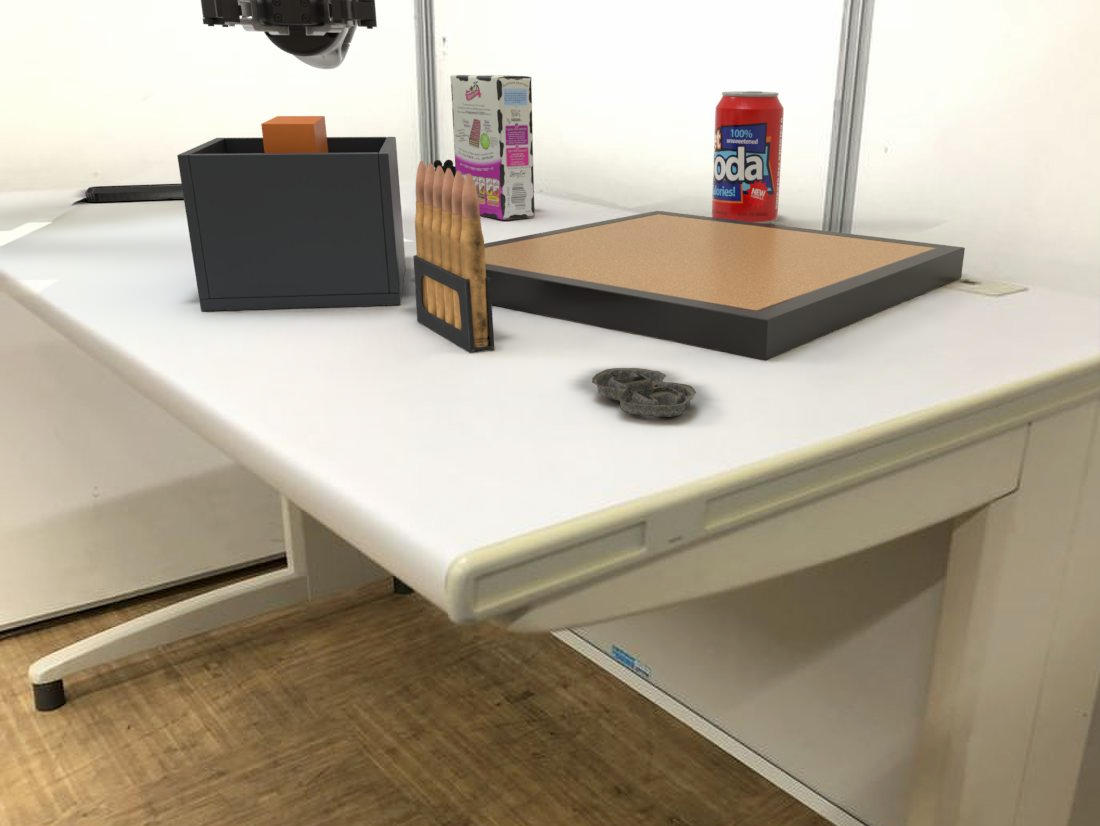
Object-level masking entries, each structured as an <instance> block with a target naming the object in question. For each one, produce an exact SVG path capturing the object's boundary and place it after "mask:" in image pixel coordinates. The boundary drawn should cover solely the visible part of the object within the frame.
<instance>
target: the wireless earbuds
mask: <svg viewBox="0 0 1100 826" xmlns="http://www.w3.org/2000/svg"><path fill="white" fill-rule="evenodd" d="M438 166H441V167H442V169H443V171H444V174H445V172H446V170H447V168H450V169H451V171H452V173H453V176H454V177H455V174H456V173H455V165H454V161H453V160H452V159H446V160H445V161H444V162H442V161H441V160H440V159H436V160H434V161H433V167H434V169H435V172H436V169H437V167H438Z"/></svg>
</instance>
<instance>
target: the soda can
mask: <svg viewBox="0 0 1100 826" xmlns="http://www.w3.org/2000/svg"><path fill="white" fill-rule="evenodd" d="M721 95H722V97H721V98H720V100H719V102H718V103H717V104H716V106H715V110H714V111H715V112H714V136H713V137H714V138H713V139H714V140H713V141H714V142H713V171H712V174H713V175H712V197H711V217H714V218H722V219H731V220H739V221H747V222H756V223H764V224H772V223H774V222H775V221H777V219H778V216H779V215H778V214H779V201H780V199H779V198H780V185H781V184H780V183H781V167H782V166H781V163H782V146H783V131H784V114H785V113H784V112H785V110H784V106H783V104H782V103H781V101H780V99H779V92H775V91H774V92H773V91H763V90H762V91H761V90H757V91H756V90H746V91H743V90H742V91H739V90H738V91H737V90H735V91H722V92H721Z"/></svg>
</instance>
